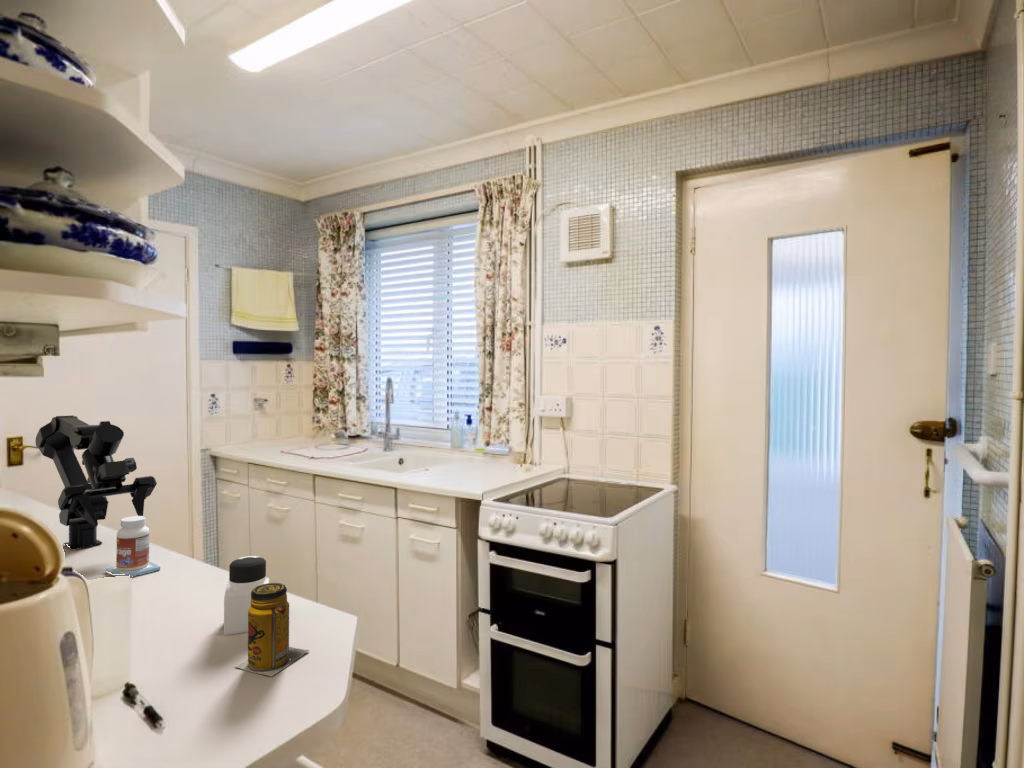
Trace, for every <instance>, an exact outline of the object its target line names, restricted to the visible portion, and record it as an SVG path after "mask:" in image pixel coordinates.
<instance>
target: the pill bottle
mask: <svg viewBox="0 0 1024 768" xmlns="http://www.w3.org/2000/svg"><path fill="white" fill-rule="evenodd" d="M146 519H147V518H146V516H144V515H143V516H138V515H133V516H126V517H124V518H123V517H122V519H120V526H121V528H120V529H118V531H117V533H116V561H115V562H116V565H115V566H116V568H117V569H118V570H121V571H132V570H138V569H141V568H144V567H146V566H147V565H148V564H149V561H150V528H149V527H148V526H146Z"/></svg>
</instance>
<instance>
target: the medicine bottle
mask: <svg viewBox="0 0 1024 768" xmlns="http://www.w3.org/2000/svg"><path fill="white" fill-rule="evenodd" d="M228 567H229V570H228V571H229V573H228V574H229V575H228V576H229V579H228V582H227V584H226V588H225V591H224V592H225V593H224V596H223V597H224V599H223V635H224V636H232V635H238V634H245V633H248V610H249V607H250V606H251V591H252V590H253V589H254V588H255V587H257V586H259V585H263V584H267V583H270V578H269V577H267V560H266V559H265V558H264V557H261V556H258V555H256V556H255V555H249V556H242V557H239V558H236V559H234V560H232V561H231V563H230V564H229V565H228Z"/></svg>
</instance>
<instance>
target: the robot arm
mask: <svg viewBox="0 0 1024 768" xmlns="http://www.w3.org/2000/svg"><path fill="white" fill-rule="evenodd" d="M124 434H125V433H124V430H123V429H122V428H120V427H119V426H117V425H115V424H113V423H112V422H111V421H110V420H105V421H99V424H88V423H86V422H85V421H83V420H82V419H79V417H77V416H76V415H56V416H54V417H52V419H51V420H50V422H48V423H46V424H45V425H43V426H42V427H41V426H40V428H39V430H38V432H37V434H36V437H35V447H36V448H37V449H39V452H40V453H41V455H42V456H44V457H46V458H48V459H51V460H53V463H54V465H55V468H56V470H57V472H58V475H59V478H60V479H61V481H62V484H63V486H64V488H63V489H62V491H61V492H60V494H59V495H60V496H59V497H58V499H57V505H58V508H59V511H60V512H59V514H58V518H59V523H60V524H61V525H64V526H65V527H68V542H64V543H63V546H64V544H65V546H64V547H66V546H67V545H66V544H68V546H70V548H71V549H75V550H79V549H84V548H88V547H93V546H94V547H95V546H99V545H102V544H103V542H102V541H101V540H99V539H98V538H97V535H98V534H97V533H98V532H97V531H98V530H97V529H98V528H97V527H98V525H99V523H98V521H101V520H102V521H103V520H106V518H107V512H108V506H109V501H108V499H107V497H111V496H118V495H123V494H130V496H131V498H132V499H131V502H132V504H133V505H132V506H133V508H134V510H135V512H136V516H144V510H145V500H146V499H147V498H148V497H150V496H151V495H152V493H153V491H154V490H155V489H156V488H155V487H156V486H157V484H158V482H157V479H156V478H155V477H154V476H153V475H148V476H140V477H135V478H134V480H133V483H131V484H124V485H123V483H124V482H125V481H126V480H127V478H126V476H127V475H129V474H130V473H133V472H135V471H136V470H137V462H136V460H135V458H134V457H127V458H125V459H123V460H117V461H114V458H113V455H114V454H116V453H117V450H118V448H119V447H120V444H121V442H122V440H123V439H124V437H125V436H124ZM75 450H76V451H82V450H84V451H83V452H82V454H81V459H82V460H81V464H80V462H79V460H78V458H77V455H76V453H75ZM81 465H83V466H84V468H85V470H86V473H87V476H88V477H86V475H85V473H84V471H83V468H82V466H81ZM78 548H79V549H78ZM71 549H70V550H71Z"/></svg>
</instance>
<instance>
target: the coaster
mask: <svg viewBox="0 0 1024 768" xmlns="http://www.w3.org/2000/svg"><path fill="white" fill-rule="evenodd" d="M157 570H160V571H161V566H159V565H157V564H155V563H153V562H152V561H150V560H149V564H148V565H147V566H146V567H144V568H141V569H138V570H132V571H121V570H118V569H117V568H116V565H115V566H111V567H108V568H105V572H106V571H108V572H111V573H112V574H125V575H113V576H129V575H130V577H132V576H136V575H140V576H142V575H141V574H144V575H146V574H145V573H148V574H150V572H152V573H154V571H156V572H158V571H157ZM113 576H112V577H113ZM136 577H137V576H136ZM132 578H133V577H132Z"/></svg>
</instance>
